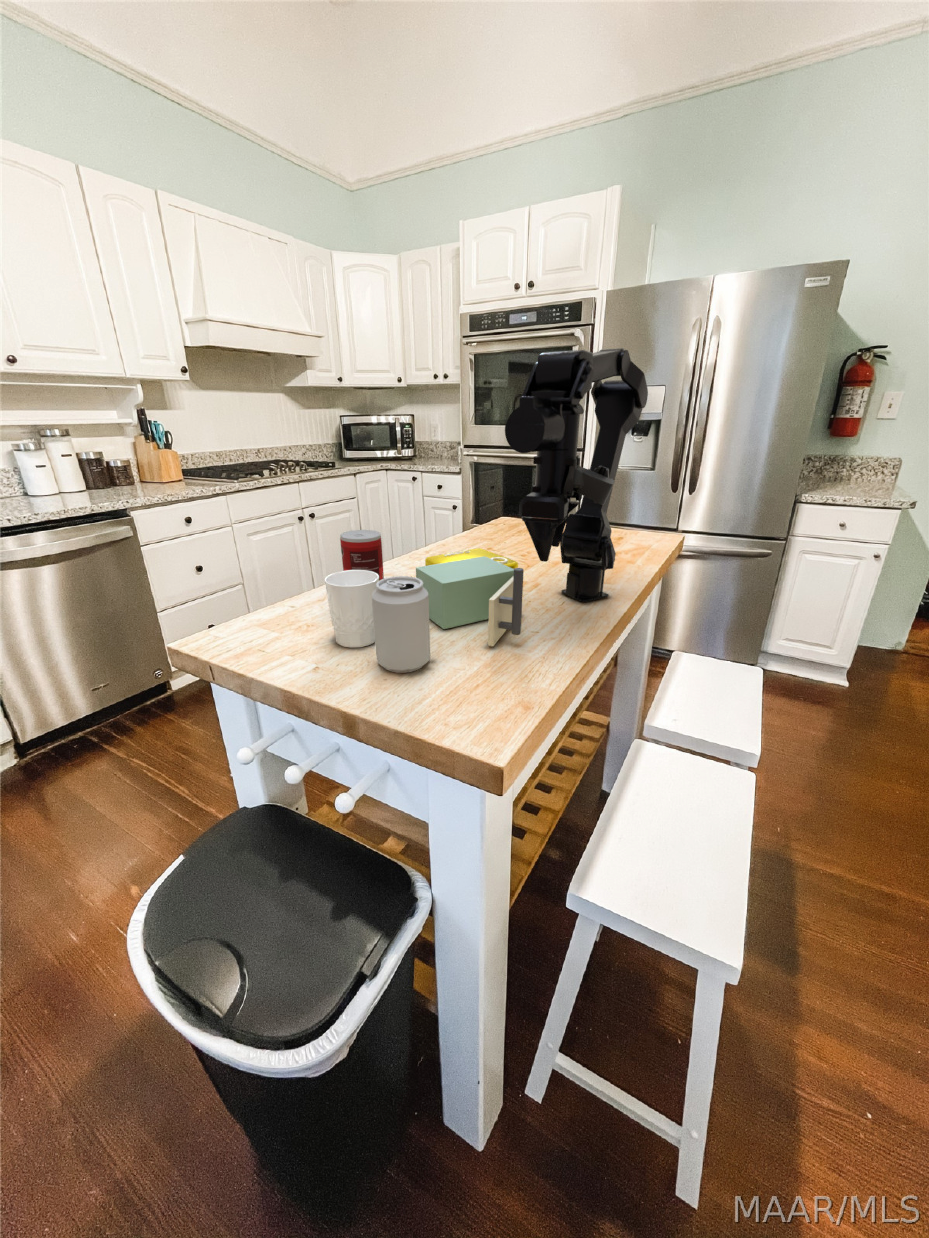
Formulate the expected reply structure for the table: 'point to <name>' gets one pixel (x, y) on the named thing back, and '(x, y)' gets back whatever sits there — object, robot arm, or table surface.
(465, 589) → the mini fridge
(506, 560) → the element tile
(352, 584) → the white cup
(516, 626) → the fridge door
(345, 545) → the canned food
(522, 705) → the table surface
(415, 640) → the can
